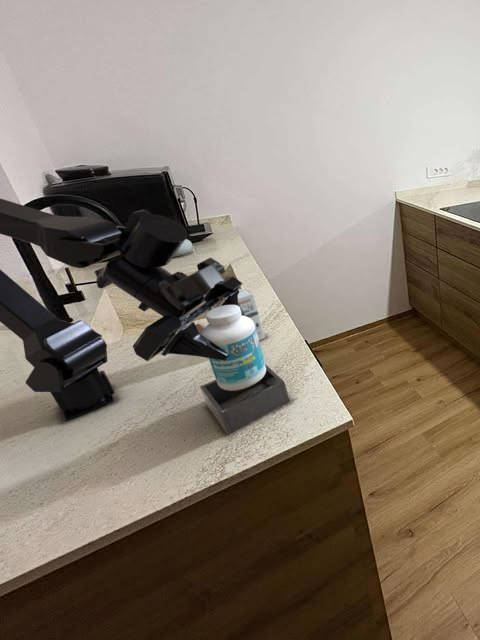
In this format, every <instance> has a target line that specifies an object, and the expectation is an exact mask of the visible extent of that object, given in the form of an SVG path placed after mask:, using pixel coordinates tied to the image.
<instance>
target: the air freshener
mask: <svg viewBox="0 0 480 640" xmlns="http://www.w3.org/2000/svg"><path fill="white" fill-rule="evenodd" d="M192 250H193V243H192V241H190V240H189V239H187V238H186V239H185V241H184V242H183V244H182V245H181V247H180V248H179V250H178V251H177V252H176V254H175V255H174V257H173V258H177V257H181V256H184V255H187V254H188V253H189V252H191V251H192Z"/></svg>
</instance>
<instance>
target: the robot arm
mask: <svg viewBox="0 0 480 640" xmlns="http://www.w3.org/2000/svg"><path fill="white" fill-rule="evenodd" d="M0 235H3V236H6V237H9V238H13V239H16V240H19V241H22V242H26V243H30V244H32V245H35V246H38V247H40V249H41V250H42V252H43V253H44V255H45V256H46V257H48V258H51V259H53V260H55V261H57V262H60V263H63V264H64V265H67V266H69V267H72V268H76V269H84V268H88V267H90V266H94V265H95V264H98V263H101V262H104V261H107V260H108V261H107V262H106V265H105V266H103V267H101V268H98V269H96V270H94V274H95V277H96V280H95V282H96V286H97V288H98V289H104V288H106V287H108V286H109V287H110V286H111V285H114V286H116V287H117V288H118V289H120V290H121V291H123V292H124V293H126V294H128V295H129V296H131V297H133V298H134V299H135V300H137V301H138V302H140V304H139V305H138V307H137V309H139V310H141V311H143V312H146V311H148V310H152V311H154V312H155V313H157V314H159V316H161V317H160V318H158V319H157V320H155V321H154V322H152V323H150V324H149V325H148V326H146V327H145V328H144V329H143V330H142V333H140V335H139V336H138V338H137V340H136V341H135V342H134V343H133V345H132V348H133V351H134V353H135V355H136V356H138V357H139V358H141V359H143V360H144V361H145V362H149V361H151V360H152V359H153V358H155V357H156V356H157V355H159V354H160V353H161V352H162V353H161V354H160V355H161V356H163V357H166V356H167V355H182V356H192V357H199V358H200V357H201V358H205V359H209V358H212V359H218V360H226V359H227V357H228V356H229V355H228V354H227V353H226V352H225V351H223V350H222V349H221V348H220V347H218V346H217V345H215V344H214V343H212V342H211V341H210V340H208V339H207V338H205V337H204V336H202V335H201V334H200V333H199V332H198V330H197V328H196V326H195V325H196V323H195V322H194V320H196V319H197V318H200V316H201V315H203V314H205V313H207V312H206V311H207V310H208V309H209V310H212V309H214V308H216V307H220V306H224V305H237V306H239V307H240V305H239V303H238V294H239V293H240V292H239V289H241V287H242V285H244V284H243V282H242V281H240V280H239V279H237V278H236V277H235V276H224V275H223V274H225V272H226V269H225V266H224V265H223V264H221V263H220V262H219V261H217V260H215V259H214V258H212V257H209V258H206V259H205V260H202V261H201V262H198V263H197V264H196V267H197V271H195V272H193V273H190V274H189V275H187V274H186V273H184V272H183V271H175V273H171V272H170V271H168V270H167V269H165V266H167V265H168V264H169V263H171V262H172V260H173V258H175V257H174V255H175V254H176V252H177V251H178V250H179V248H180V247H181V245H182V244H183V242H184V241H185V239H187V238H188V232H187V229H186V228H185V227H184V225H182V224H181V223H180V222H179V221H177V220H176V219H172V218H169V217H167V216H164V215H159V214H154V213H153V214H152V213H150V212H149V211H147V210H146V209H141V210H137V211H134V212H131V214H130V216H129V217H128V221H127V224H126V225H125V226H121V225H117V224H116V223H114V222H112V221H109V220H107V219H101V218H96V217H89V216H65V215H64V216H63V215H57V214H53V213H49V212H46V211H43V210H40V209H36V208H33V207H29V206H26V205H23V204H20V203H17V202H14V201H10V200H7V199H4V198H0ZM240 310H241V315H242V316H246V315H245V314H244V312H243V311H242V309H241V307H240ZM0 323H1V324H2V325H4V326H5V327H6V328H7V329H8V330H10V332H12V333H13V334H15V335H16V336H17V337H19V338H20V339H21V340H22V344H23V349H24V350H23V351H24V358H25V360H26V361H27V362H28V363H29V364H30V365H31V366H32V367H33V369H32V370H31V372H30V374H29V375H28V376H27V379H26V380H25V385H26V386H28V387H29V389H31V391H33V392H34V393H50V394H51V396H52V398H53V400H54V401H55V403H56V404H57V406H58V407H59V409H60V411H61V414H62V418H63V421H65V422H67V421H69V420H72V419H74V418H77V417H79V416H82V415H84V414H87V413H90V412H92V411H94V410H97V409H99V408H102V407H104V406H106V405H109V404H112V403H113V402H115V398H114V396H113V395H114V394H115V389H114V388H113V385H112V383H111V381H110V379H109V377H108V375H107V373H106V371H105V370H100V369H99V367H101V366H103V365H104V364H106V363H107V362H108V350H107V349H108V348H107V347H108V344H107V342H106V341H105V339H104V338H102V337H103V335H102V334H100V333H98V332H96V331H95V330H94V329H93V328H92V327H91V326H90V325H89V324H88V323H87V322H85V321H84V320H77V321H75V322H69V321H66V320H62V319H60V318H58V317H57V316H56V315H54V314H53V313H52V312H51V311H50V310H49V309H48V308H46V307H45V306H44V305H43V304H41V303H40V301H38V300H37V299H36V298H35V297H33V296H32V295H31V294H30V293H29V292H28V291H26V290H25V288H23V287H22V286H21V285H19V284H18V283H17V282H16V281H15V280H13V279H12V277H10V276H9V275H8V274H7V273H5V272H4V271H3V270H2V269H0Z"/></svg>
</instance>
